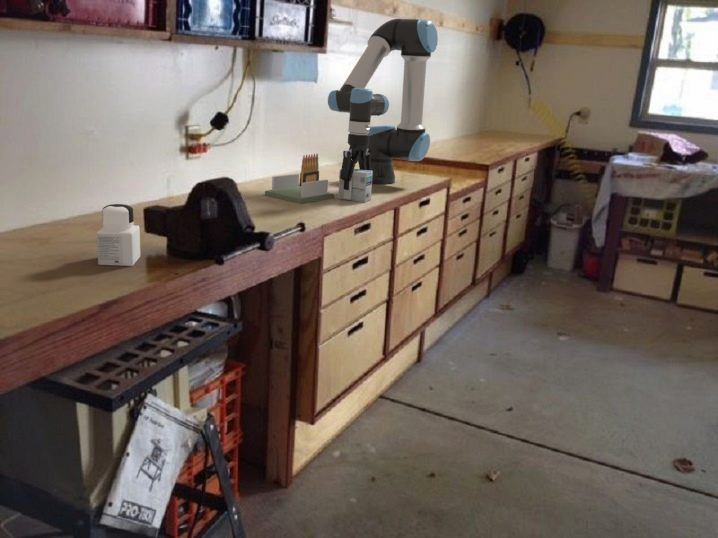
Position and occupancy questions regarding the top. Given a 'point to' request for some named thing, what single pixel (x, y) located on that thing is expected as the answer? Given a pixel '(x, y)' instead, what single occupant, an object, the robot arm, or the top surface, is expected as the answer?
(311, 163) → the ammunition clip
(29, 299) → the top surface
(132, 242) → the container
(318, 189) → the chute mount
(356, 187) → the light bulb box
